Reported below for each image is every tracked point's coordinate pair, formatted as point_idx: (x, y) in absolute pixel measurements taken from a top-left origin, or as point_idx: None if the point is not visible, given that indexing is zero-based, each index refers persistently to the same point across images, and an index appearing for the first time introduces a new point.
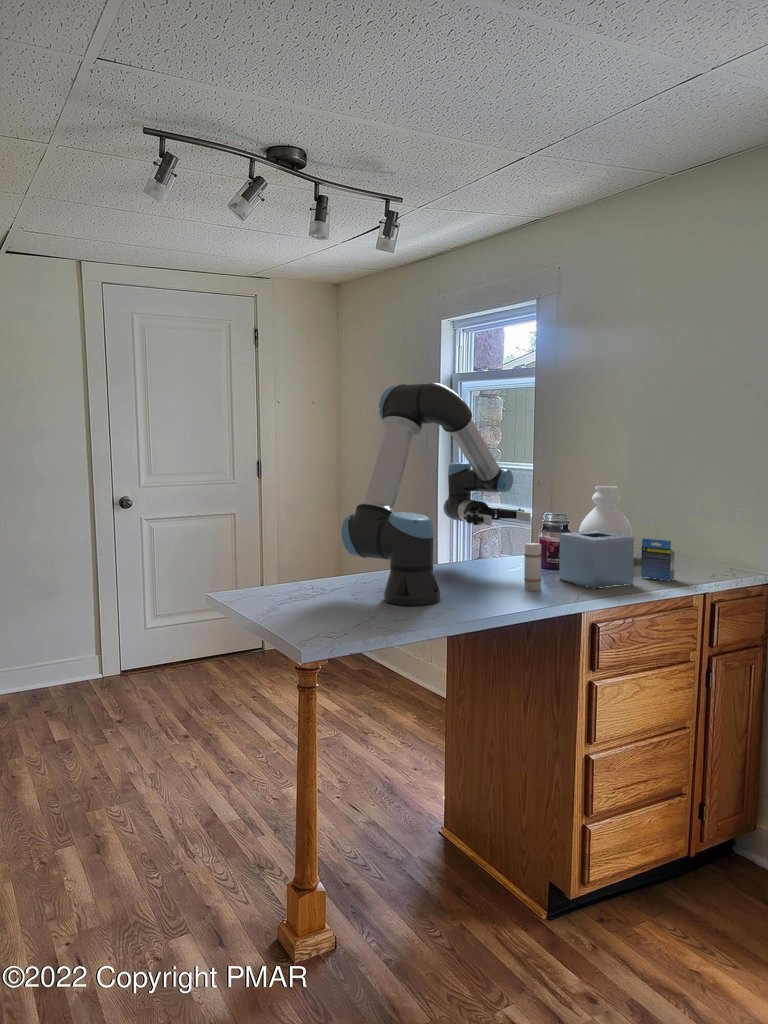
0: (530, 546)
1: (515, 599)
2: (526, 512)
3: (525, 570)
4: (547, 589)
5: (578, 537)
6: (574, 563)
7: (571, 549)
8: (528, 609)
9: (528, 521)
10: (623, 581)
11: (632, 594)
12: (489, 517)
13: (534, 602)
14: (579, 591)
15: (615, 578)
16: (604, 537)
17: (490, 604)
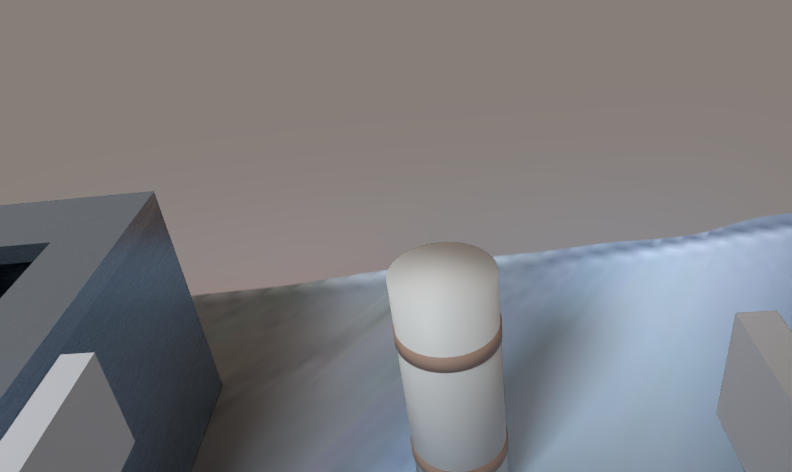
0: (482, 254)
1: (642, 356)
2: (32, 414)
3: (504, 400)
4: (393, 453)
5: (97, 267)
6: (142, 423)
7: None
8: (646, 252)
9: (131, 437)
10: None
11: None
12: (770, 324)
13: (582, 305)
14: (299, 378)
15: None
16: (15, 231)
17: None
